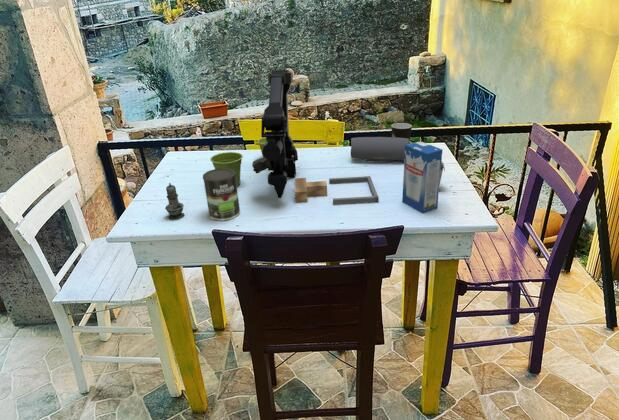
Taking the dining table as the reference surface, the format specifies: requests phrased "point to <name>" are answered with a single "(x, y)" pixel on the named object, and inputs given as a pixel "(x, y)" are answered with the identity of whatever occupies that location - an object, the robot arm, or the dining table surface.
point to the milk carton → (421, 176)
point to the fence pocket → (355, 200)
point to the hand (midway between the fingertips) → (279, 192)
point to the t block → (309, 189)
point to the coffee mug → (401, 130)
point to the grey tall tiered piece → (174, 204)
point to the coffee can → (221, 194)
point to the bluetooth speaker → (378, 148)
